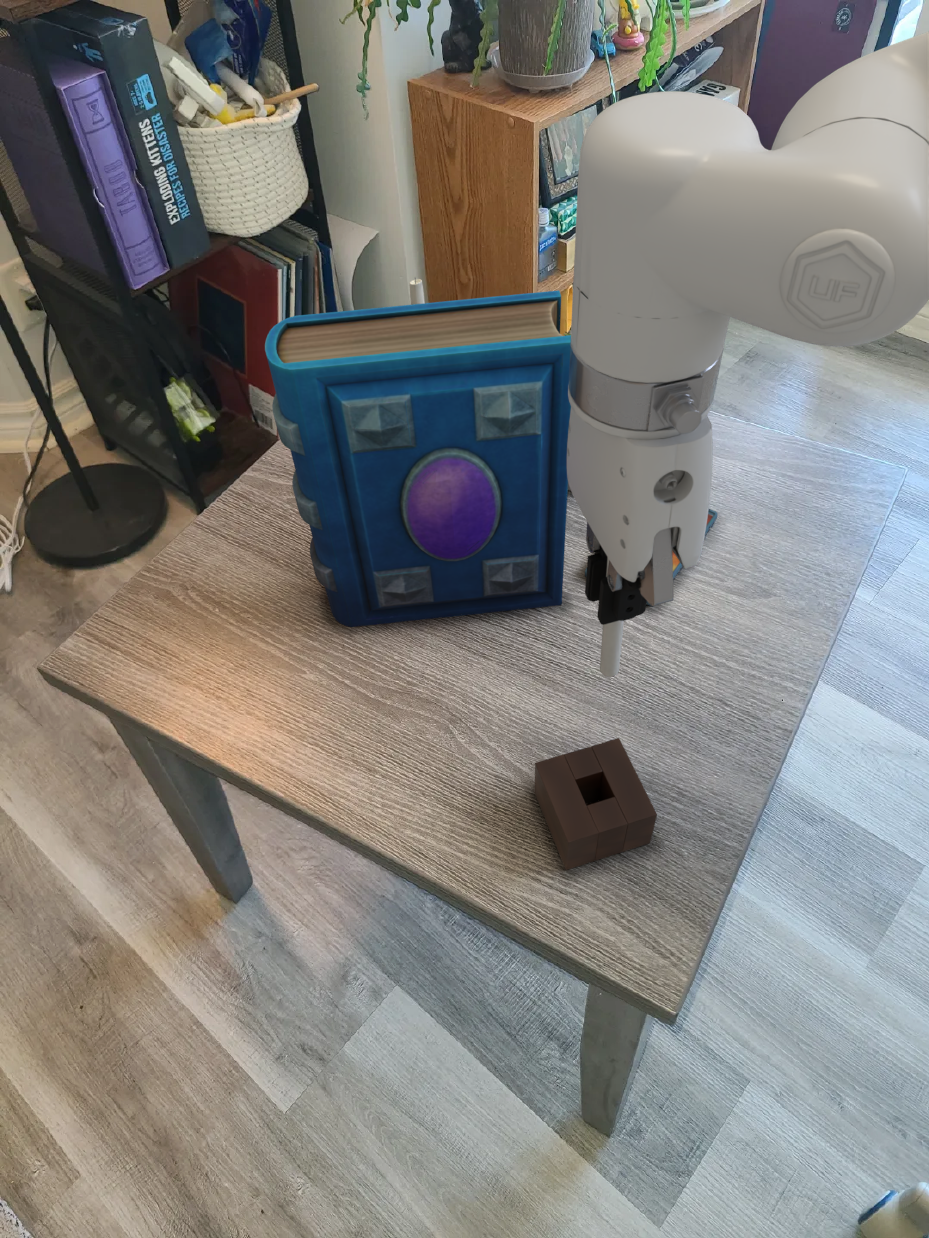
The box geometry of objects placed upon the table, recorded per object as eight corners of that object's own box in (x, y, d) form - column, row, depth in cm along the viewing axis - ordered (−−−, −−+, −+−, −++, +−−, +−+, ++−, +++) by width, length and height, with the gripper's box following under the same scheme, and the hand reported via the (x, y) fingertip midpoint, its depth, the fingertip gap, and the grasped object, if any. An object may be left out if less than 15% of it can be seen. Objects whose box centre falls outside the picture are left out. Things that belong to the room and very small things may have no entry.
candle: (397, 391, 114) (383, 278, 102) (427, 373, 116) (416, 260, 104) (425, 408, 112) (413, 294, 100) (455, 390, 114) (447, 275, 102)
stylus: (614, 659, 66) (626, 535, 56) (622, 674, 65) (635, 551, 55) (596, 664, 66) (604, 541, 56) (603, 679, 65) (613, 557, 55)
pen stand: (614, 768, 78) (619, 737, 74) (650, 843, 73) (657, 814, 69) (534, 792, 77) (534, 762, 73) (565, 870, 72) (568, 842, 68)
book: (322, 641, 89) (252, 384, 65) (322, 576, 94) (259, 318, 71) (564, 616, 89) (580, 353, 66) (550, 553, 95) (560, 290, 72)
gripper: (786, 446, 42) (719, 679, 56) (647, 282, 51) (620, 516, 65) (636, 483, 40) (607, 712, 55) (523, 308, 50) (523, 540, 64)
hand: (614, 603), depth 60 cm, fingers closed on stylus, 1 cm apart
